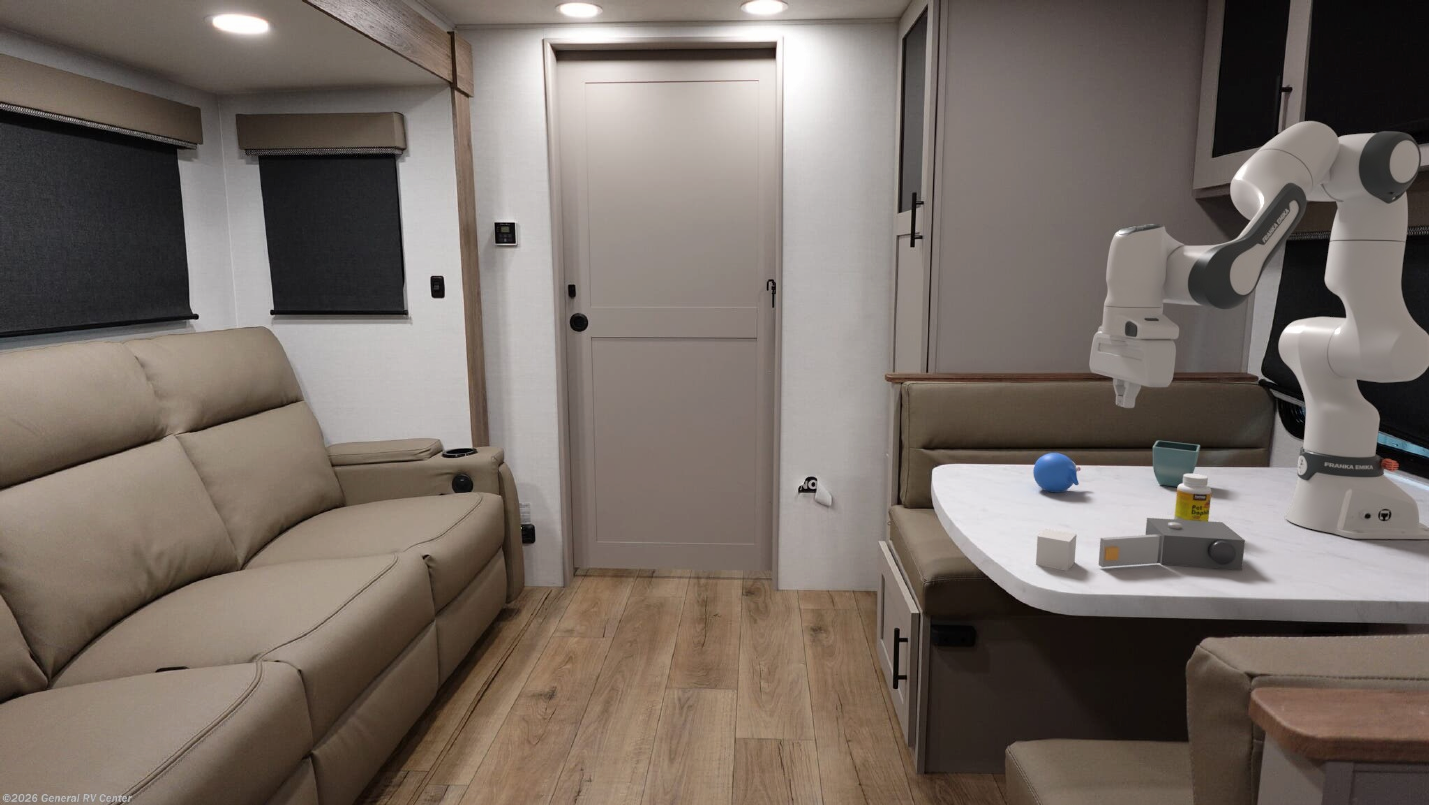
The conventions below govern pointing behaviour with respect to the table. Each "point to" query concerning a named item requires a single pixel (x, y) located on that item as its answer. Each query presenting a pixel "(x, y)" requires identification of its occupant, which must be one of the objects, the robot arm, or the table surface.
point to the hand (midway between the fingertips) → (1124, 406)
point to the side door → (1130, 550)
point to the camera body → (1197, 543)
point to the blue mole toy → (1055, 472)
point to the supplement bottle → (1193, 498)
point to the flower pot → (1173, 461)
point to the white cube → (1056, 549)
